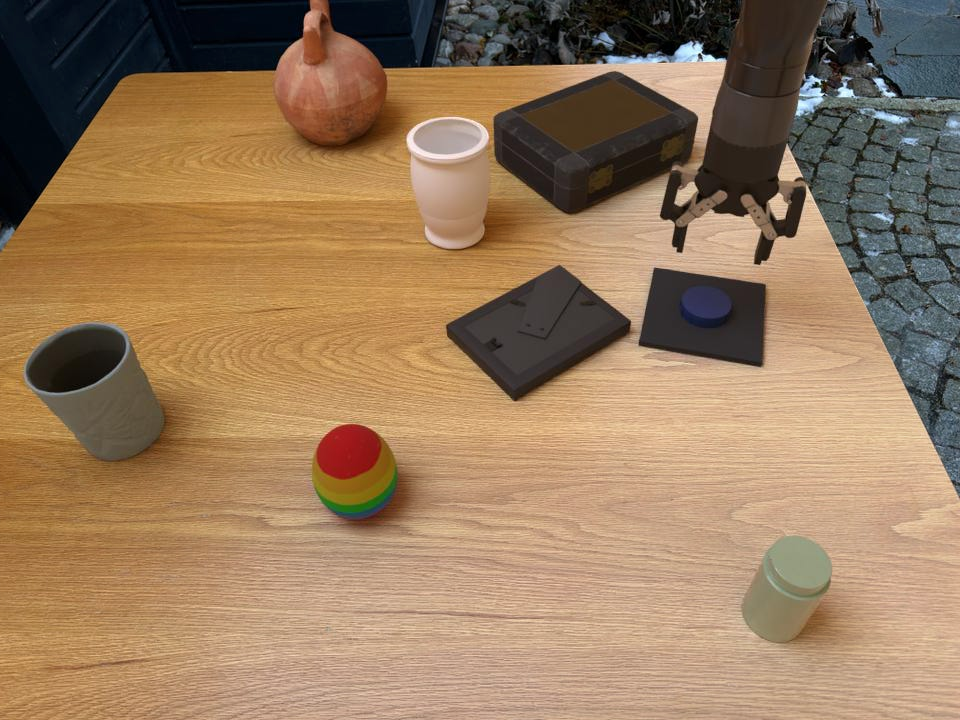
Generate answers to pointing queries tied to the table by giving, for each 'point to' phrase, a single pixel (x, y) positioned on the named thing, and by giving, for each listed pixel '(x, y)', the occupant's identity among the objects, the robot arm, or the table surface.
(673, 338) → the mat
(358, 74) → the jug
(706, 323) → the lid
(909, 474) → the table surface
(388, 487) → the decorative egg
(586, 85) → the cash box
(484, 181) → the jar
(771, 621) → the spice jar
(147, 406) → the grey cup
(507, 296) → the picture frame
